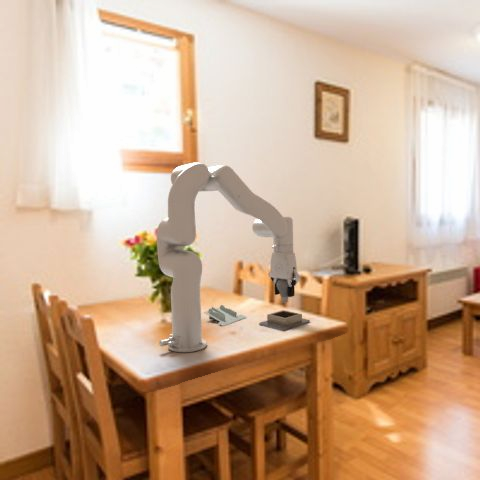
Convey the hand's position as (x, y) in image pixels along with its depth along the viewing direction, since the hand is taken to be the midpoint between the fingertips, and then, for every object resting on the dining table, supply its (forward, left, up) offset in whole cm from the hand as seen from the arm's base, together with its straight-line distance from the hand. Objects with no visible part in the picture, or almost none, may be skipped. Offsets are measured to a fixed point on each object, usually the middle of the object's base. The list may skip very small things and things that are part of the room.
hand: (284, 294), depth 158 cm
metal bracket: (-12, +22, -12) cm, 28 cm away
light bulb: (0, 0, -3) cm, 3 cm away
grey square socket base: (0, 0, -11) cm, 11 cm away
